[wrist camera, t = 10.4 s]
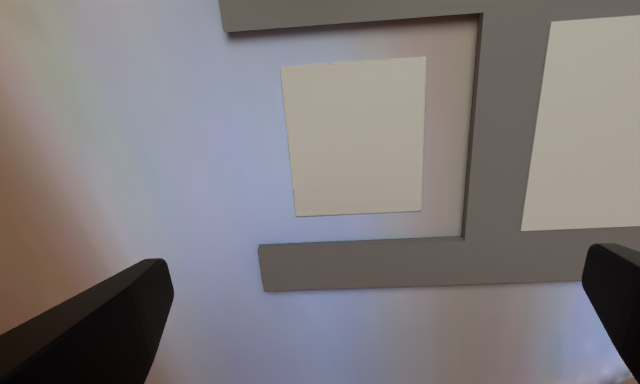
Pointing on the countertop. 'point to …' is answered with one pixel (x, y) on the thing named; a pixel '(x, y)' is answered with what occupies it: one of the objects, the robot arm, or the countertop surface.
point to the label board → (484, 143)
